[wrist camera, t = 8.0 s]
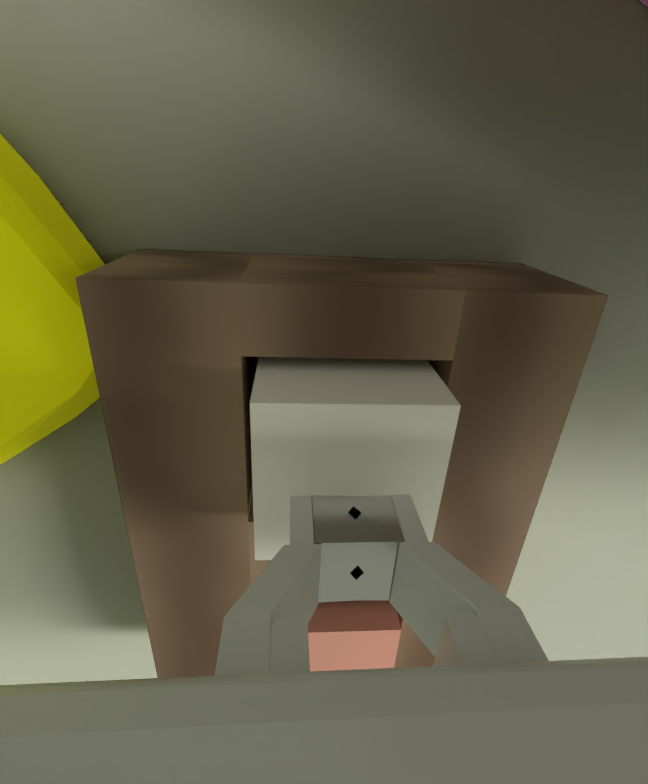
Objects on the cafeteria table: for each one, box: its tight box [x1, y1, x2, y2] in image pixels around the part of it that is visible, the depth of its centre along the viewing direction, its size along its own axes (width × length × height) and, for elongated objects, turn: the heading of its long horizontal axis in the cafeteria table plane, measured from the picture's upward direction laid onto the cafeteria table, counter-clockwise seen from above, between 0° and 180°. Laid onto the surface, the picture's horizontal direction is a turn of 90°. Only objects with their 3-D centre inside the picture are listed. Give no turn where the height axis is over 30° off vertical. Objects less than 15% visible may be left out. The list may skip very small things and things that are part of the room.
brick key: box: [308, 600, 401, 671], centre depth 19 cm, size 5×5×4 cm
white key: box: [250, 357, 461, 560], centre depth 13 cm, size 5×5×4 cm
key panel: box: [75, 249, 608, 678], centre depth 18 cm, size 14×20×5 cm
